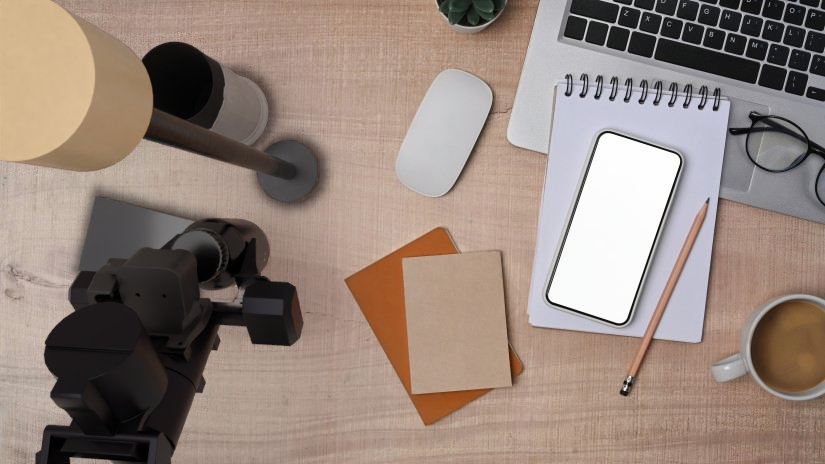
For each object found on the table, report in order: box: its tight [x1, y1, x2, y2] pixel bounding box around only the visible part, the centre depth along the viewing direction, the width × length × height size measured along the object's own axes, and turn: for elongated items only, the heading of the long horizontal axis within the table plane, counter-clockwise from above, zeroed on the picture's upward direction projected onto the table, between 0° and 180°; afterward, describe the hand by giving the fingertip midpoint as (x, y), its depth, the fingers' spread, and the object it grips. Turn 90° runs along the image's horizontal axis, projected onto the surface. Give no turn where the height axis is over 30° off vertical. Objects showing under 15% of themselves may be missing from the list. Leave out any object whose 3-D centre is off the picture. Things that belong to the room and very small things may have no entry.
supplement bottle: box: [170, 217, 271, 292], centre depth 58 cm, size 7×7×12 cm
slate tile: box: [77, 195, 197, 272], centre depth 71 cm, size 9×14×1 cm, turn 76°
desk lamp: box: [0, 0, 321, 203], centre depth 48 cm, size 7×7×46 cm
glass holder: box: [140, 41, 270, 146], centre depth 63 cm, size 9×14×15 cm, turn 84°
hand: (218, 238), depth 58 cm, fingers closed on supplement bottle, 7 cm apart
